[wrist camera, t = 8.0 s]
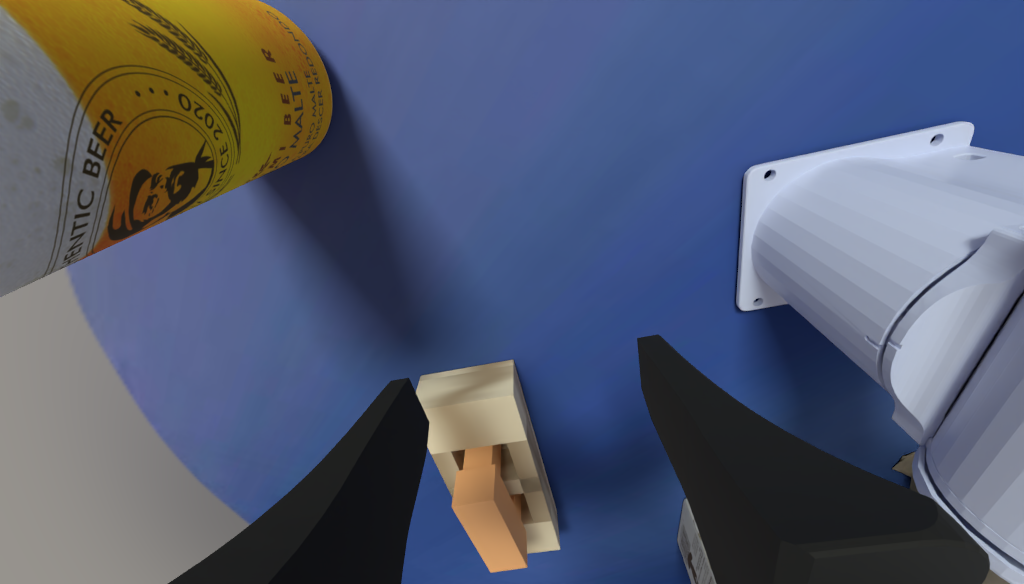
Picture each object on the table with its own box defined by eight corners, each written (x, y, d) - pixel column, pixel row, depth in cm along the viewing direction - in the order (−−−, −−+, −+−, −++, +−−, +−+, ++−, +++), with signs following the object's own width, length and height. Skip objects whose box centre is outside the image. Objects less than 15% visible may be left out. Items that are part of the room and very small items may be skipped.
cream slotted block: (513, 359, 25) (513, 394, 22) (556, 510, 33) (560, 549, 30) (420, 375, 26) (410, 411, 23) (485, 519, 33) (482, 558, 31)
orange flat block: (497, 418, 27) (493, 499, 22) (525, 484, 30) (527, 567, 25) (463, 425, 27) (451, 506, 22) (494, 489, 30) (490, 572, 26)
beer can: (312, 183, 19) (-95, 433, 6) (178, 107, 18) (-727, 239, 5) (361, 61, 17) (-149, 71, 4) (210, -40, 15) (-1541, -608, 2)
